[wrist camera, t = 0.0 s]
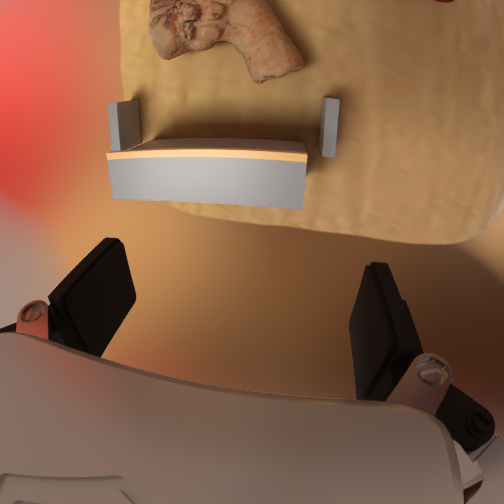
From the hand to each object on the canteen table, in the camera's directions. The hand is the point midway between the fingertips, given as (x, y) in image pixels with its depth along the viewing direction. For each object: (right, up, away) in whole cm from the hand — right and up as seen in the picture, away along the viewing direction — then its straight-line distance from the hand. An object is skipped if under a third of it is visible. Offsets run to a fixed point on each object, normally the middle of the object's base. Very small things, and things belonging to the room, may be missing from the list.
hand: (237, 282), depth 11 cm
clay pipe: (-3, +30, +20) cm, 36 cm away
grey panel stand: (-3, +17, +27) cm, 32 cm away
